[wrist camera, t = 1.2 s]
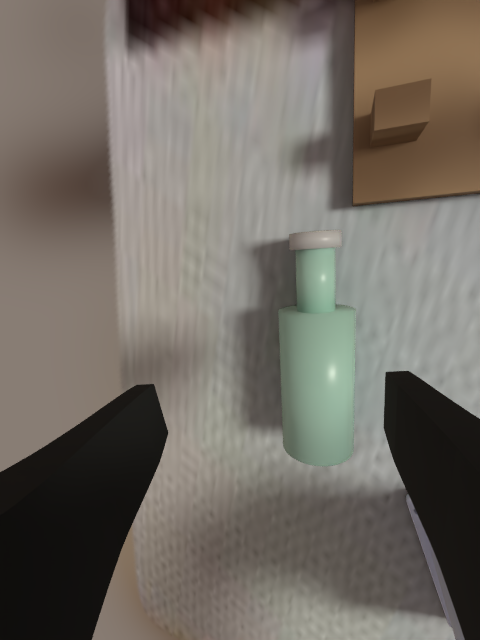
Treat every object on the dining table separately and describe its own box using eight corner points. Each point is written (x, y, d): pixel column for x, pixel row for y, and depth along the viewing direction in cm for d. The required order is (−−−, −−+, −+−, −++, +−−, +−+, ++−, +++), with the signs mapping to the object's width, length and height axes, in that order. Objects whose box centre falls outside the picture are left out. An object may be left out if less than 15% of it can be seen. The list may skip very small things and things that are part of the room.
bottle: (339, 423, 20) (365, 463, 17) (278, 428, 20) (290, 469, 16) (339, 233, 18) (371, 226, 14) (270, 237, 18) (282, 232, 14)
